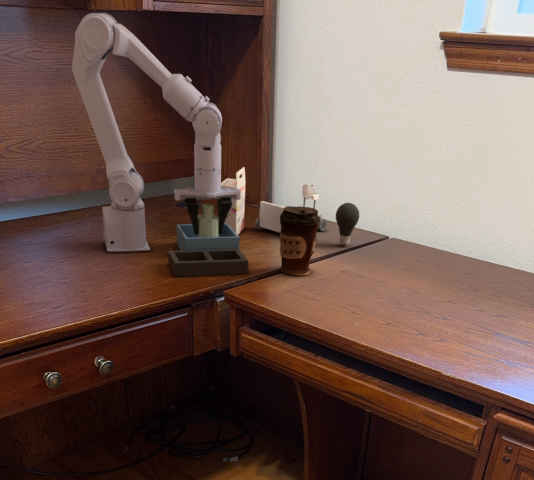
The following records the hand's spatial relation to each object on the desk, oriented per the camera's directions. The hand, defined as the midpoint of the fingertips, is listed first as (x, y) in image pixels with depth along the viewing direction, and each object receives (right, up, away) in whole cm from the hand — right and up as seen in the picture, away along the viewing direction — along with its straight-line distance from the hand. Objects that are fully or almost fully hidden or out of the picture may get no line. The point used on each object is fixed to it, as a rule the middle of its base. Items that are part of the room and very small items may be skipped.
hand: (207, 232), depth 151 cm
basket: (0, -3, +2) cm, 4 cm away
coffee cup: (+20, -11, -6) cm, 23 cm away
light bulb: (+32, +1, +11) cm, 34 cm away
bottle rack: (+1, -11, -8) cm, 13 cm away
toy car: (+20, +8, +21) cm, 31 cm away
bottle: (0, -3, +2) cm, 3 cm away
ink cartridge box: (+4, +6, +16) cm, 18 cm away
